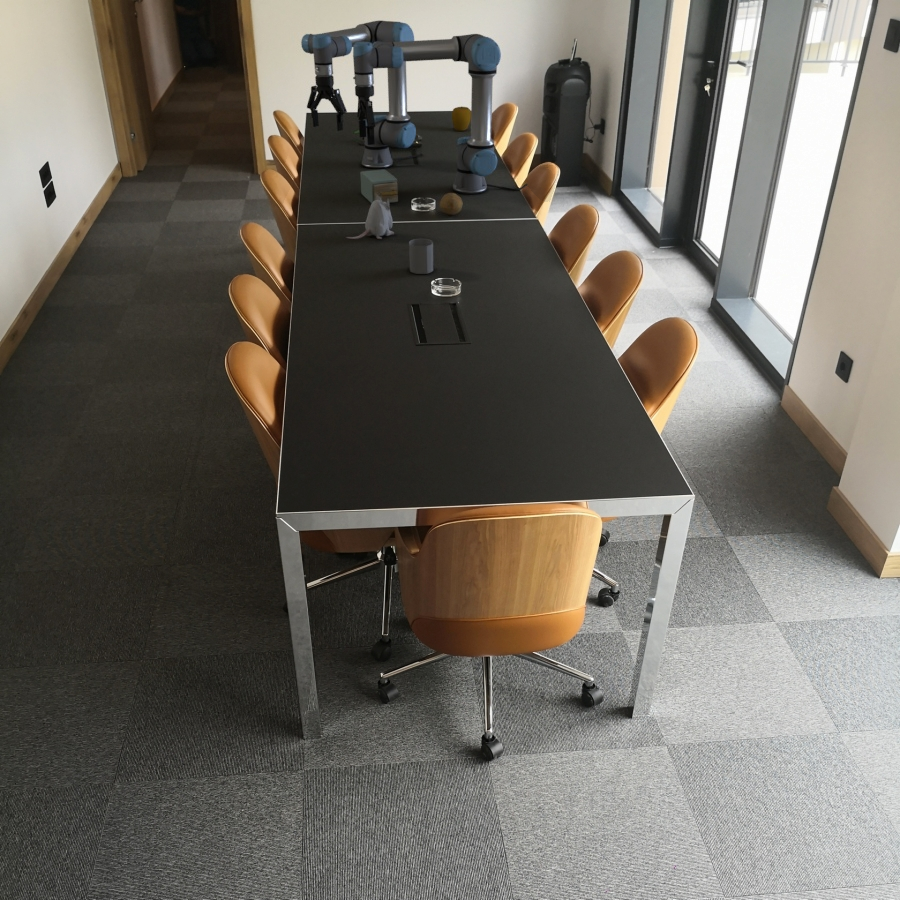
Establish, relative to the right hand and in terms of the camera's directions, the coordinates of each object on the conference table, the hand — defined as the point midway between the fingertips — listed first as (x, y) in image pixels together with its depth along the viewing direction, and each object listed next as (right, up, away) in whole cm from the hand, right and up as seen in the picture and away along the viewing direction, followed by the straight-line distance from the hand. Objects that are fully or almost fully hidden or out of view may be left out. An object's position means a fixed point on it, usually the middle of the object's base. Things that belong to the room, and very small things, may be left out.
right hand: (367, 140), depth 355 cm
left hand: (-18, +12, +18) cm, 28 cm away
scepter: (-3, +39, +112) cm, 119 cm away
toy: (+3, -45, -19) cm, 49 cm away
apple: (+41, +54, +136) cm, 152 cm away
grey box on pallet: (+3, -15, +27) cm, 32 cm away
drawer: (+5, -17, +23) cm, 29 cm away
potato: (+34, -28, +8) cm, 45 cm away
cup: (+24, -63, -46) cm, 82 cm away
